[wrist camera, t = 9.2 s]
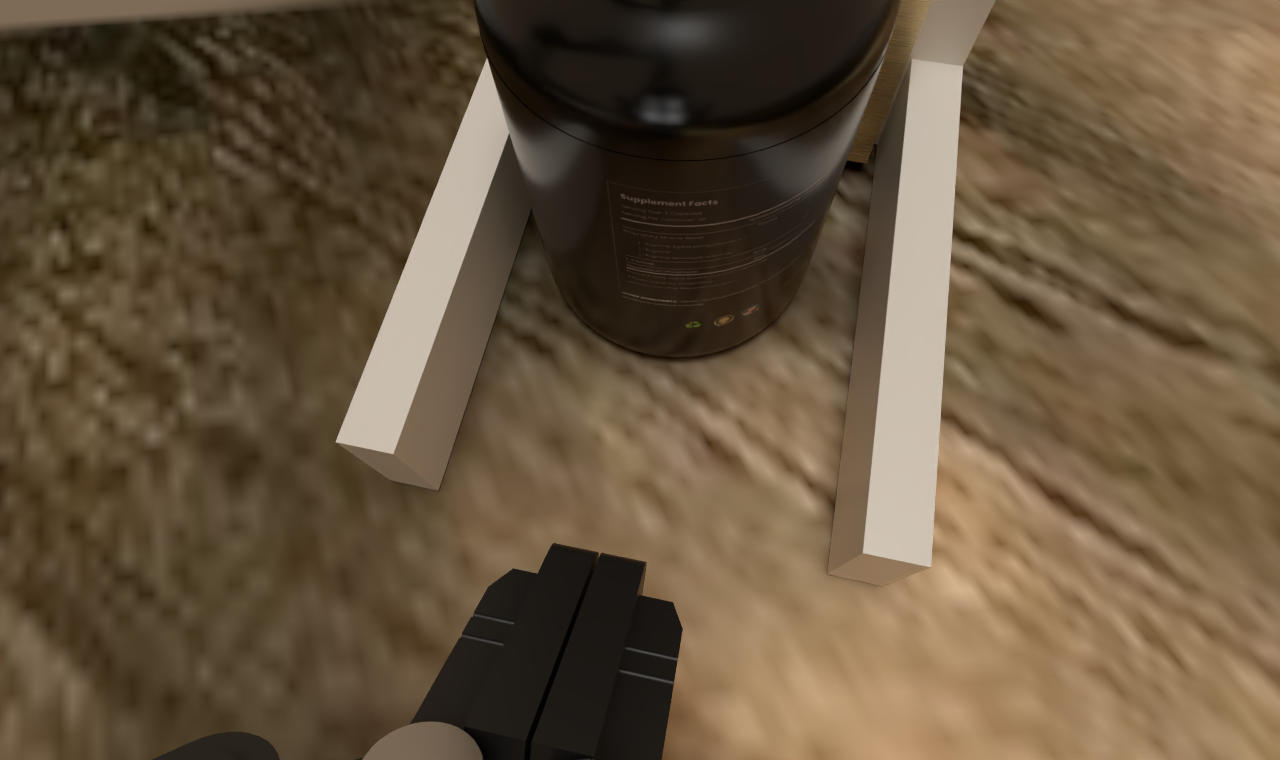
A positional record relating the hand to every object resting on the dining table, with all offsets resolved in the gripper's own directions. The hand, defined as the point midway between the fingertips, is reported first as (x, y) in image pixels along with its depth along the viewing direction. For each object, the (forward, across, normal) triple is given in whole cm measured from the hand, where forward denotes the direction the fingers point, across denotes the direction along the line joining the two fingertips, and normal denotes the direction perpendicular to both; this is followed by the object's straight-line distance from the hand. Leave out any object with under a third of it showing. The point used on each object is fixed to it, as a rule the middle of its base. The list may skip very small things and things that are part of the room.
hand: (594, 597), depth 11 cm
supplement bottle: (+10, 0, -3) cm, 10 cm away
